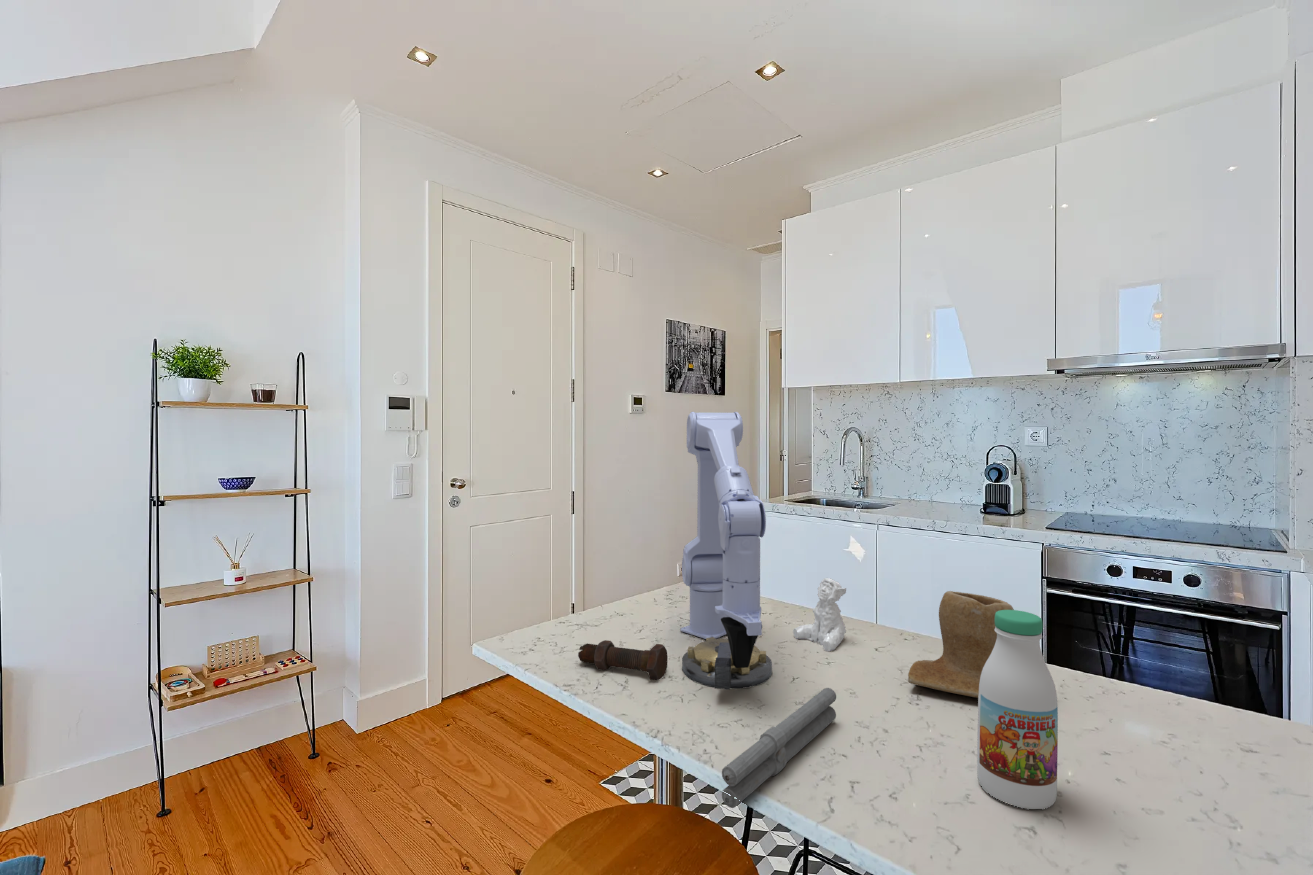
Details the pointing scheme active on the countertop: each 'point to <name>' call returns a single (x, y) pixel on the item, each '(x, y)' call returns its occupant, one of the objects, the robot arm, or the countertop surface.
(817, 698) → the metal rod assembly
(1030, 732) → the milk bottle
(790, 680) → the countertop surface
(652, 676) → the bolt
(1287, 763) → the countertop surface
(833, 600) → the seated beast figurine
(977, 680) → the brown boot
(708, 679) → the disc
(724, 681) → the brass turntable dial
